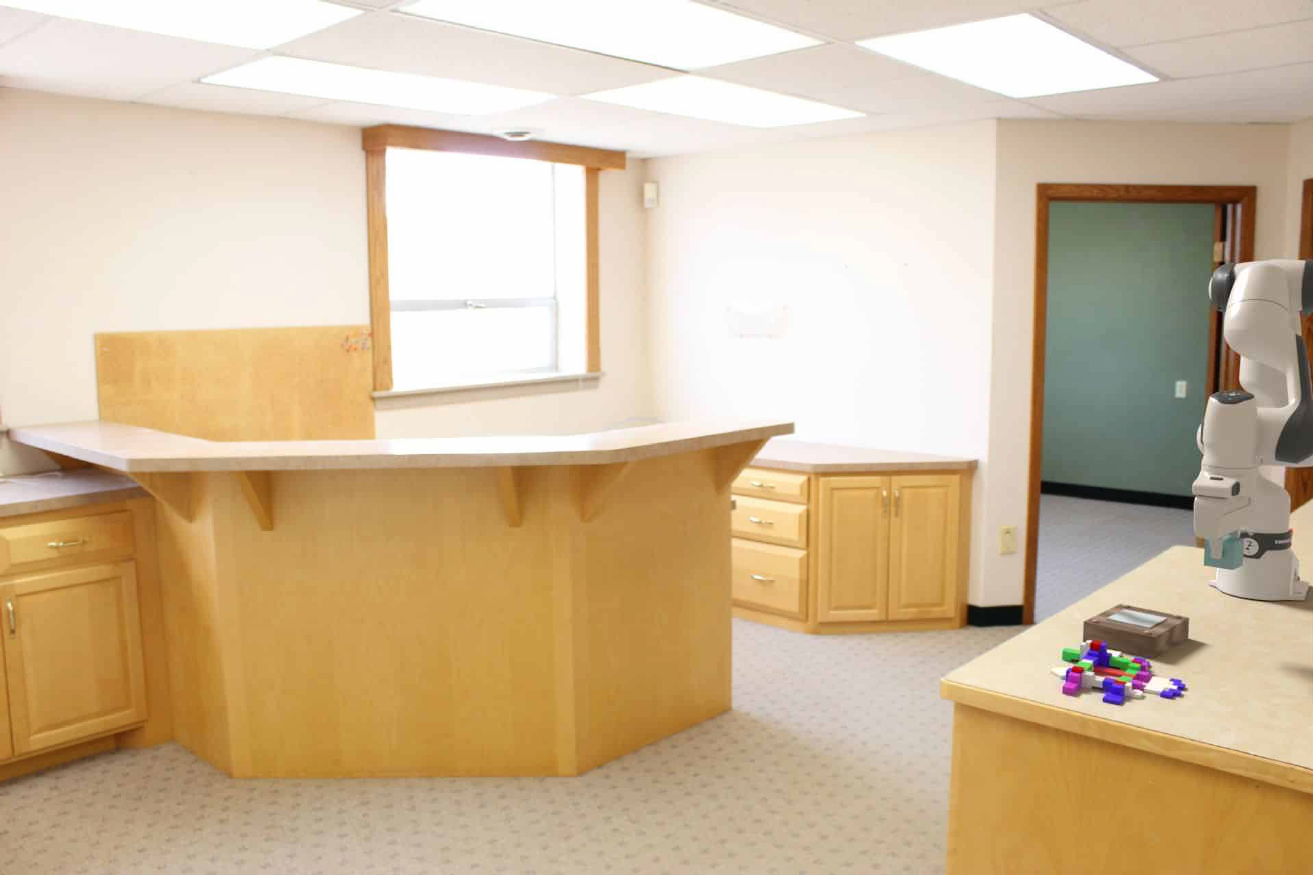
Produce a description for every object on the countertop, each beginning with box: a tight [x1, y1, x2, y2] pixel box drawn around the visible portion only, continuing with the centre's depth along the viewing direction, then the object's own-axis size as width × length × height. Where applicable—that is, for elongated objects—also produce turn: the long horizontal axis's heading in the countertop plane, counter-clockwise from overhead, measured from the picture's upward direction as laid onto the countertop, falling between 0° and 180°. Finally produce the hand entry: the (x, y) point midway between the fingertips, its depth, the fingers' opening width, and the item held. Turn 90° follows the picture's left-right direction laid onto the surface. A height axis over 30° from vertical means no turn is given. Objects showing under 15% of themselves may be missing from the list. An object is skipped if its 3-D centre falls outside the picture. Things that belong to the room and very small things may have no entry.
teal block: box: [1203, 535, 1244, 570], centre depth 193 cm, size 5×5×5 cm
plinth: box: [1082, 603, 1190, 659], centre depth 198 cm, size 16×13×4 cm
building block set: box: [1050, 640, 1186, 706], centre depth 179 cm, size 25×20×4 cm
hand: (1223, 554), depth 193 cm, fingers closed on teal block, 5 cm apart
